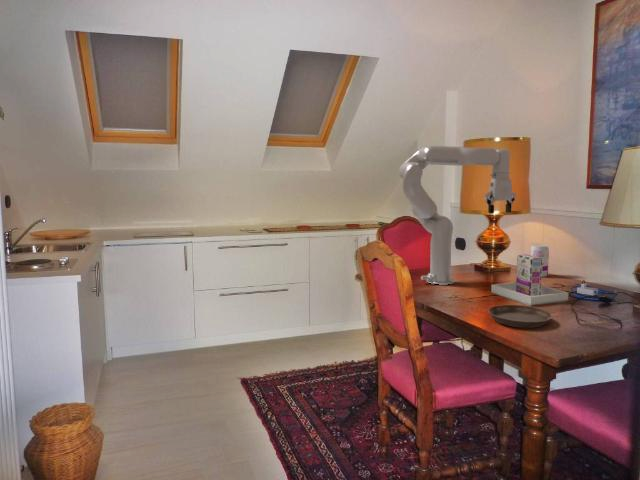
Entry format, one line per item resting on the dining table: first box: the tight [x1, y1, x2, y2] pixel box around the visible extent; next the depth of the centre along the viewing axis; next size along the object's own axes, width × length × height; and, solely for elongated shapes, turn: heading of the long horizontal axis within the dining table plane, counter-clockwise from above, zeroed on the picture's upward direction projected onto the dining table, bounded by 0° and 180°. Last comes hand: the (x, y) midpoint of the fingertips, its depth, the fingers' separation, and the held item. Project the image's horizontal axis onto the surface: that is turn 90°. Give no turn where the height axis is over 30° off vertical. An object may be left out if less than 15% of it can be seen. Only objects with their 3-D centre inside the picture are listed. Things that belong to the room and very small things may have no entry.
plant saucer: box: [488, 304, 553, 329], centre depth 178 cm, size 21×21×3 cm
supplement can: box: [530, 244, 550, 278], centre depth 251 cm, size 8×8×15 cm
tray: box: [490, 281, 569, 307], centre depth 211 cm, size 18×24×4 cm
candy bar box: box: [515, 254, 542, 296], centre depth 210 cm, size 11×5×16 cm, turn 8°
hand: (499, 212), depth 240 cm, fingers open, 9 cm apart
